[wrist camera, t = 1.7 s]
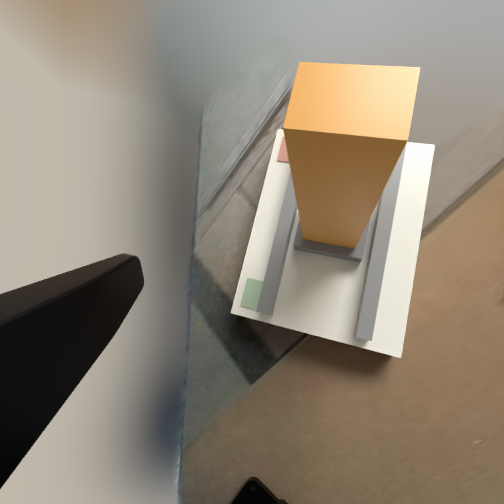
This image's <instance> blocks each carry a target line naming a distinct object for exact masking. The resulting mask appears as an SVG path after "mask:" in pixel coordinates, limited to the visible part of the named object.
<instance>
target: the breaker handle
mask: <svg viewBox="0 0 504 504" xmlns="http://www.w3.org/2000/svg"><path fill="white" fill-rule="evenodd" d="M419 73H420V67H397V66H376V65H353V64H330V63H308V62H300V63H299V67H298V71H297V75H296V78H295V82H294V86H293V90H292V94H291V98H290V102H289V106H288V110H287V114H286V118H285V122H284V126H283V131H284V137H285V142H286V148H287V153H288V159H289V164H290V170H291V175H292V181H293V186H294V192H295V197H296V203H297V208H298V213H299V222H298V227H297V231H296V235H295V240H294V244H293V247H294V249H295V250H300V251H305V252H310V253H315V254H320V255H325V256H330V257H335V258H340V259H345V260H350V261H355V262H361V261H362V259H363V255H364V249H365V244H366V239H367V233H368V228H369V223H370V218H371V215H372V213H373V211H374V209H375V207H376V205H377V203H378V201H379V199H380V197H381V195H382V192H383V190H384V188H385V186H386V184H387V182H388V180H389V178H390V176H391V174H392V172H393V170H394V168H395V166H396V164H397V161H398V159H399V157H400V155H401V153H402V151H403V149H404V147H405V145H406V143H407V140H408V135H409V130H410V124H411V119H412V113H413V107H414V102H415V96H416V90H417V85H418V79H419Z"/></svg>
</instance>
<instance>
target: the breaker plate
mask: <svg viewBox="0 0 504 504" xmlns="http://www.w3.org/2000/svg"><path fill="white" fill-rule="evenodd" d="M434 148H435V145H431V144H421V143H411V142H407V143H406V145H405V147H404V149H403V151H402V153H401V155H400V157H399V159H398V161H397V164H396V166H395V168H394V170H393V172H392V174H391V176H390V178H389V180H388V182H387V184H386V186H385V188H384V190H383V192H382V195H381V197H380V199H379V201H378V203H377V205H376V207H375V209H374V211H373V213H372V215H371V218H370V223H369V228H368V233H367V239H366V244H365V249H364V255H363V259H362V261H361V262H355V261H350V260H345V259H340V258H335V257H330V256H325V255H320V254H315V253H310V252H305V251H300V250H295V249H294V247H293V244H294V240H295V235H296V231H297V227H298V222H299V213H298V208H297V203H296V197H295V192H294V186H293V181H292V175H291V170H290V164H289V159H288V153H287V148H286V142H285V137H284V131H283V129H278V131H277V135H276V139H275V143H274V146H273V150H272V154H271V158H270V162H269V166H268V170H267V174H266V178H265V181H264V185H263V189H262V193H261V197H260V201H259V205H258V209H257V213H256V216H255V220H254V224H253V228H252V232H251V236H250V240H249V244H248V248H247V251H246V255H245V259H244V263H243V267H242V271H241V275H240V279H239V283H238V286H237V290H236V294H235V298H234V302H233V306H232V310H231V313H232V314H235V315H239V316H243V317H247V318H251V319H254V320H258V321H262V322H266V323H270V324H273V325H277V326H281V327H285V328H288V329H292V330H296V331H300V332H304V333H307V334H311V335H315V336H319V337H323V338H326V339H330V340H334V341H338V342H342V343H345V344H349V345H353V346H357V347H361V348H364V349H368V350H372V351H376V352H379V353H383V354H387V355H391V356H395V357H398V358H401V355H402V349H403V342H404V336H405V330H406V323H407V317H408V311H409V305H410V298H411V292H412V286H413V279H414V273H415V267H416V261H417V254H418V248H419V242H420V235H421V229H422V223H423V217H424V210H425V204H426V198H427V191H428V185H429V179H430V173H431V166H432V160H433V154H434Z"/></svg>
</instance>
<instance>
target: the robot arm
mask: <svg viewBox="0 0 504 504" xmlns="http://www.w3.org/2000/svg"><path fill="white" fill-rule="evenodd" d="M143 286H144V277H143V272H142V267H141V263H140V260H139V258H138V257H137V256H134V255H130V254H119V255H116V256H114V257H111V258H107V259H105V260H102V261H99V262H95V263H92V264H89V265H86V266H83V267H81V268H77V269H74V270H72V271H68V272H65V273H62V274H59V275H57V276H54V277H50V278H47V279H44V280H41V281H38V282H35V283H33V284H30V285H27V286H24V287H21V288H18V289H15V290H12V291H9V292H6V293H3V294H0V489H1V487H2V486H3V485H4V483H5V482H6V481H7V479H8V478H9V476H10V475H11V474H12V473H13V471H14V470H15V469H16V467H17V466H18V464H19V463H20V462H21V460H22V459H23V458H24V457H25V455H26V454H27V452H28V451H29V450H30V448H31V447H32V446H33V444H34V443H35V442H36V440H37V439H38V438H39V436H40V435H41V433H42V432H43V431H44V430H45V428H46V427H47V425H48V424H49V423H50V421H51V420H52V419H53V417H54V416H55V415H56V413H57V412H58V411H59V409H60V408H61V407H62V405H63V404H64V403H65V401H66V400H67V399H68V397H69V396H70V395H71V393H72V392H73V391H74V389H75V388H76V386H77V385H78V384H79V382H80V381H81V380H82V378H83V377H84V376H85V374H86V373H87V372H88V370H89V369H90V368H91V366H92V365H93V363H94V362H95V361H96V360H97V358H98V357H99V356H100V354H101V353H102V351H103V350H104V349H105V347H106V346H107V345H108V343H109V342H110V341H111V339H112V338H113V336H114V335H115V333H116V332H117V330H118V329H119V327H120V325H121V324H122V322H123V320H124V319H125V317H126V315H127V314H128V312H129V310H130V309H131V307H132V305H133V304H134V302H135V300H136V299H137V297H138V295H139V294H140V292H141V290H142V288H143ZM250 485H254V486H256V488H257V490H256V491H252V490H251V489H250ZM230 504H288V503H287V502H286V501H285V500H283V499H278V498H277V497H276V496H275V495H274V494H273V493H272V492H271V491H270V490H269V489H268V488H267V487H266V486H265V485H264V484H263V483H262V482H261V481H260V480H259V479H258V478H256V477H250V478H249V479H248V480H247V481H246V483H245V484H244V485H243V487H242V488H241V489H240V491H239V492H238V494H237V495H236V496H235V498H234V499H233V500H232V502H231V503H230Z"/></svg>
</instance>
